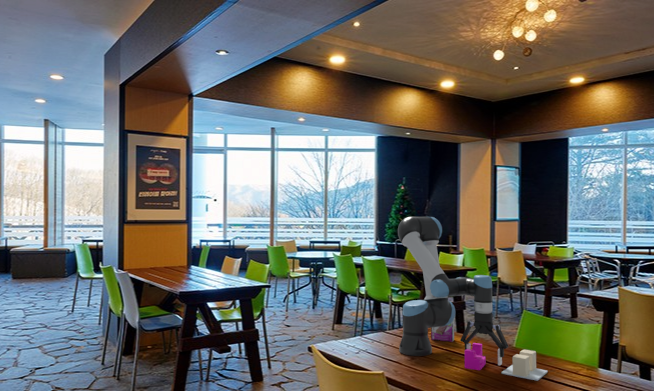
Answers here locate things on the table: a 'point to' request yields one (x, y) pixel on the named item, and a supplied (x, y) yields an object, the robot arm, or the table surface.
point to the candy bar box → (443, 333)
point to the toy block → (475, 357)
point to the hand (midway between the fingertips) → (484, 361)
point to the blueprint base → (531, 376)
